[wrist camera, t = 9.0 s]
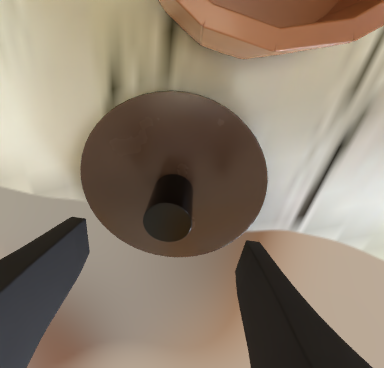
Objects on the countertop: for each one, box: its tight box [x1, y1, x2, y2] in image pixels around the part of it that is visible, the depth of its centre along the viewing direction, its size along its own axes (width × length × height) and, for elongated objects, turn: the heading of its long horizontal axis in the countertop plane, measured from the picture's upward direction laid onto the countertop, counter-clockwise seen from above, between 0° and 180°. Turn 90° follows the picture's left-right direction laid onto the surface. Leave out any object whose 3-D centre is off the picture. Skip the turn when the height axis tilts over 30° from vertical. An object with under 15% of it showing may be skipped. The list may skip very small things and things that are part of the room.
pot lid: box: [81, 91, 267, 257], centre depth 13 cm, size 12×12×4 cm
